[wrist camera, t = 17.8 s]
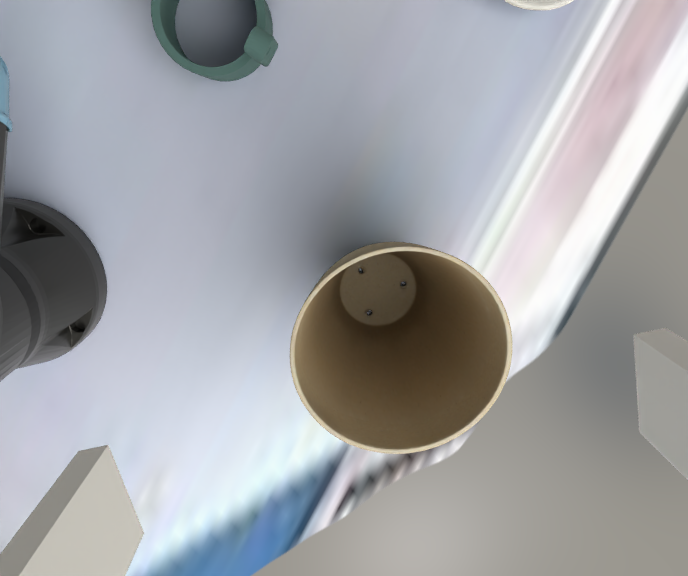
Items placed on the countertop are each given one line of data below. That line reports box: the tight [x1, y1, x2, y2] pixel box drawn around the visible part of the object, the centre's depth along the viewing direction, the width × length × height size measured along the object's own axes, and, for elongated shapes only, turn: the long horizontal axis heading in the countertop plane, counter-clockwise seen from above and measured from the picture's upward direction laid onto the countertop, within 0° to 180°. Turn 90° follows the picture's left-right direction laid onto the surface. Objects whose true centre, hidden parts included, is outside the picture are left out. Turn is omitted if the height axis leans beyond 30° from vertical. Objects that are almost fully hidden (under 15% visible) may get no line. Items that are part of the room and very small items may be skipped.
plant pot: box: [290, 242, 512, 454], centre depth 43 cm, size 15×15×16 cm
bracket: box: [151, 0, 278, 81], centre depth 39 cm, size 9×9×9 cm
